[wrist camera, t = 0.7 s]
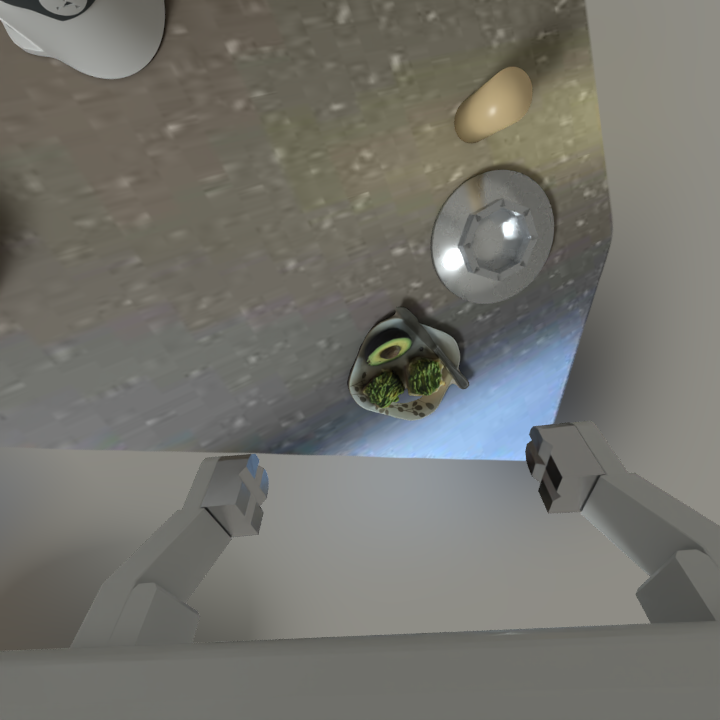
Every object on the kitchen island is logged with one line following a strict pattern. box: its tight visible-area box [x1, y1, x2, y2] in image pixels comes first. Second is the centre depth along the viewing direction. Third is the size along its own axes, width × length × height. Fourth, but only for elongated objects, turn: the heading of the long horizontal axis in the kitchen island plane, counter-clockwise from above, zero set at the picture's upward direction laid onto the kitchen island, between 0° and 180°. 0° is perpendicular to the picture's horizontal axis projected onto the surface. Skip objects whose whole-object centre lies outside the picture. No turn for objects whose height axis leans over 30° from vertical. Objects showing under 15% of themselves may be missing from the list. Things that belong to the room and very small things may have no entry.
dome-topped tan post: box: [454, 67, 533, 143], centre depth 40 cm, size 5×5×9 cm
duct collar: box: [431, 170, 554, 304], centre depth 49 cm, size 18×18×3 cm
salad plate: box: [347, 307, 469, 421], centre depth 54 cm, size 19×18×5 cm
